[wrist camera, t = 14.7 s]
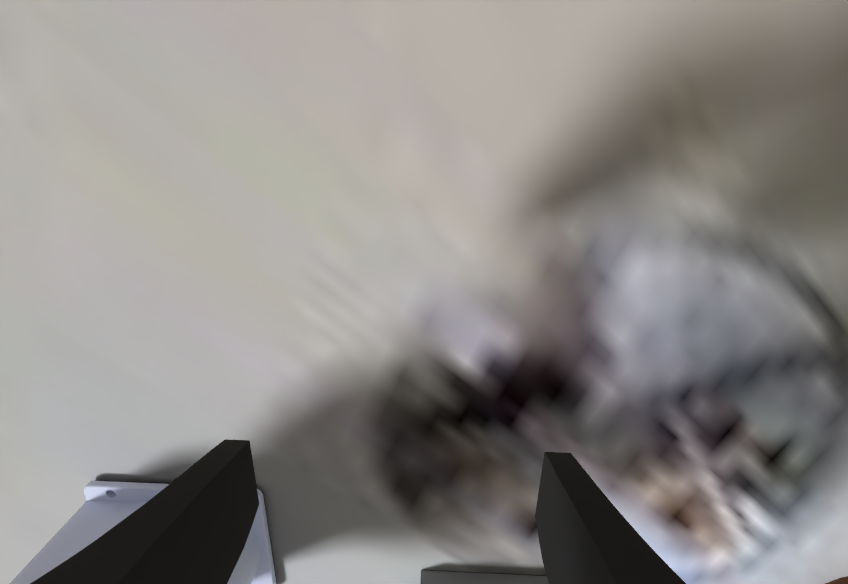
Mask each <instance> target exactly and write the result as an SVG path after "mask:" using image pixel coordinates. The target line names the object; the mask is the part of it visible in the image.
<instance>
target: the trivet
mask: <svg viewBox="0 0 848 584" xmlns="http://www.w3.org/2000/svg"><path fill="white" fill-rule="evenodd" d="M826 584H848V577H843V578H839V579H836V580H834V581H831V582H828V583H826Z"/></svg>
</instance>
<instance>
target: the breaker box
mask: <svg viewBox="0 0 848 584" xmlns="http://www.w3.org/2000/svg"><path fill="white" fill-rule="evenodd" d="M421 584H549V582H548V578H547V576H533V575H512V574H490V573H468V572H446V571H425V570H421Z"/></svg>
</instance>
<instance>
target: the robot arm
mask: <svg viewBox="0 0 848 584" xmlns="http://www.w3.org/2000/svg"><path fill="white" fill-rule="evenodd" d="M84 494H85V497H86V500H87V501H86V502H85V503H84V505H83V506H82V507H81V508H80V509H79V510H78V511H77V512H76V513H75V514H74V515H73V516H72V517H71V518H70V520H69V521H68V522H67V523H66V524H65V525H64V526H63V527H62V528H61V529H60V530H59V531H58V532H57V533H56V535H55V536H54V537H53V538H52V539H51V540H50V541H49V542H48V543H47V544H46V545H45V546H44V547H43V549H42V550H41V551H40V552H39V553H38V554H37V555H36V556H35V557H34V558H33V559H32V560H31V561H30V562H29V564H28V565H27V566H26V567H25V568H24V569H23V570H22V571H21V572H20V573H19V574H18V575H17V576H16V578H15V579H14V580H13V581H12V582H11V583H10V584H276V578H275V571H274V564H273V558H272V551H271V544H270V538H269V531H268V525H267V518H266V511H265V505H264V498H263V494H262V492H261V491H260V490H259V489H257V486H256V480H255V473H254V467H253V461H252V454H251V448H250V441H246V440H224V441H223V442H221V443H220V444H219V445H217V446H216V447H215V448H214V449H212V450H211V451H210V452H209V453H207V454H206V455H205V456H204V457H202V458H201V459H200V460H199V461H198V462H196V463H195V464H194V465H193V466H191V467H190V468H189V469H188V470H187V471H185V472H184V473H183V474H182V475H180V476H179V477H178V478H177V479H175V480H174V481H173V482H172V483H170V484H159V483H134V482H110V481H91V482H89V483H88V484H87V485H86V486H85V487H84ZM535 517H536V523H537V530H538V536H539V542H540V548H541V554H542V559H543V564H544V567H545V571H546V575H547V578H548V582H549V584H686V583H685V582H684V581H683V580H682V579H681V578H680V577H679V576H678V575H677V574H676V573H675V572H674V571H673V570H672V569H671V568H670V567H669V566H668V565H667V564H666V563H665V562H664V561H663V560H662V559H661V558H660V557H659V556H658V555H657V554H656V553H655V552H654V550H653V549H652V548H651V547H650V546H649V545H648V544H647V543H646V542H645V541H644V540H643V539H642V537H641V536H640V535H639V534H638V533H637V532H636V531H635V530H634V528H633V527H632V526H631V525H630V524H629V523H628V522H627V520H626V519H625V518H624V517H623V516H622V515H621V514H620V513H619V511H618V510H617V509H616V508H615V507H614V506H613V504H612V503H611V502H610V501H609V500H608V498H607V497H606V496H605V495H604V494H603V492H602V491H601V490H600V489H599V487H598V486H597V485H596V484H595V483H594V481H593V480H592V479H591V478H590V476H589V475H588V474H587V473H586V471H585V470H584V469H583V468H582V466H581V465H580V464H579V463H578V461H577V460H576V459H575V458H574V457H573V455H572V454H571V453H556V452H545V454H544V460H543V467H542V474H541V481H540V487H539V494H538V501H537V508H536V514H535Z"/></svg>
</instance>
